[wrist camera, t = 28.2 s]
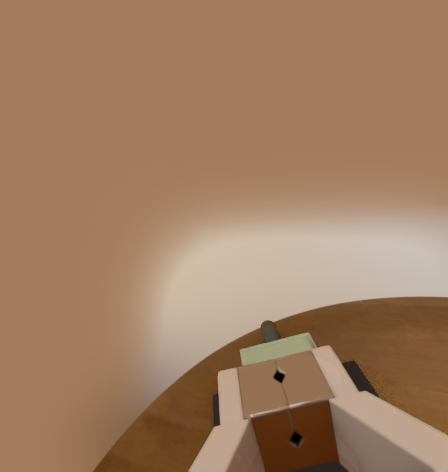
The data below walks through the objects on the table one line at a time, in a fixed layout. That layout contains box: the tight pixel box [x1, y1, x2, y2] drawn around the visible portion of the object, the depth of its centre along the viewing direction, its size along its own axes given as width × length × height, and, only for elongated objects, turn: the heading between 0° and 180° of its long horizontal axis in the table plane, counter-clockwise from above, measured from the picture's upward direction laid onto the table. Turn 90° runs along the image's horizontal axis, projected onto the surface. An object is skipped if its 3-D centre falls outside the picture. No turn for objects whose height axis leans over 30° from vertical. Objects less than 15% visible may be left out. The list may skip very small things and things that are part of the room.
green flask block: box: [240, 321, 317, 366], centre depth 33 cm, size 4×8×15 cm
